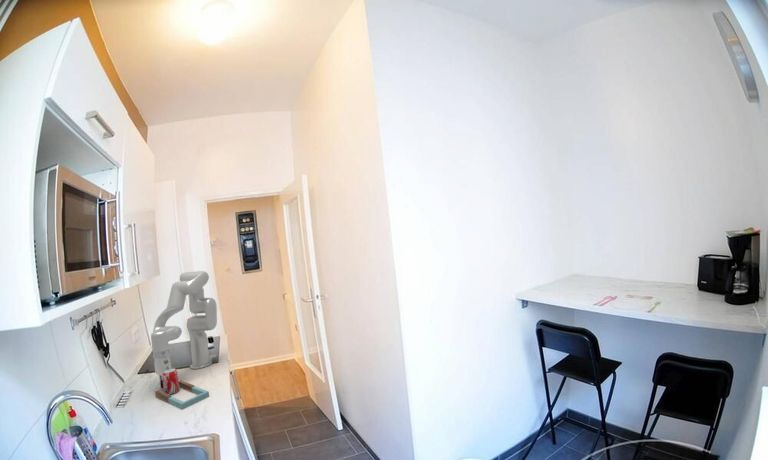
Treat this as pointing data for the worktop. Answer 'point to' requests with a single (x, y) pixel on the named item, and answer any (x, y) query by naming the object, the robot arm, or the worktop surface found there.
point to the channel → (165, 396)
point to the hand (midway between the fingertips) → (164, 386)
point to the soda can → (170, 381)
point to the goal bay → (201, 395)
